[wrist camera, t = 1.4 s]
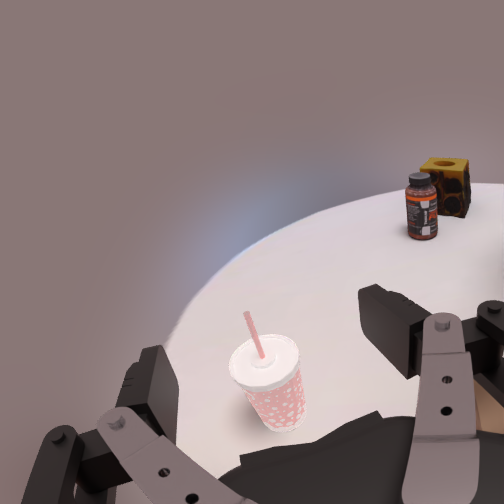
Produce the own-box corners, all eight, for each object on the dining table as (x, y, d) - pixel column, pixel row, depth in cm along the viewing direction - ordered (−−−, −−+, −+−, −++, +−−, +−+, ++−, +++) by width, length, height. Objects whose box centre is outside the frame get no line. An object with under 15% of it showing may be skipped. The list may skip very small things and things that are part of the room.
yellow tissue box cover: (464, 219, 52) (463, 171, 48) (421, 213, 59) (417, 168, 55) (472, 201, 57) (470, 158, 53) (433, 197, 65) (430, 156, 60)
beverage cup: (254, 397, 32) (210, 299, 26) (309, 386, 32) (281, 281, 26) (256, 443, 27) (204, 349, 21) (318, 431, 26) (292, 329, 20)
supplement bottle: (434, 242, 48) (432, 180, 43) (404, 239, 52) (399, 179, 47) (440, 227, 52) (437, 170, 47) (412, 225, 56) (407, 170, 51)
